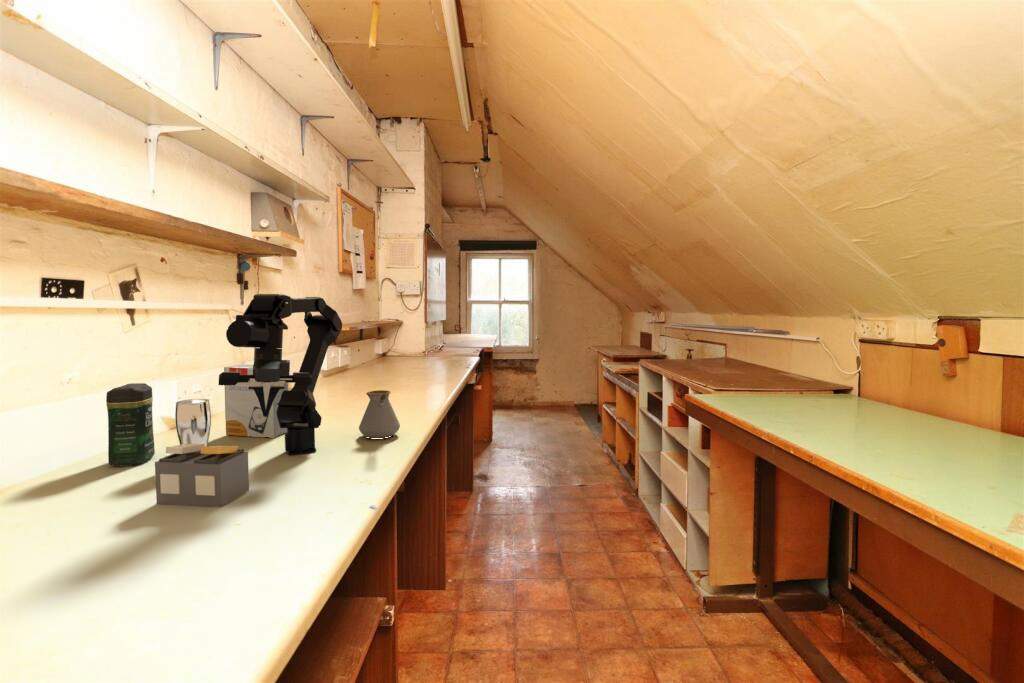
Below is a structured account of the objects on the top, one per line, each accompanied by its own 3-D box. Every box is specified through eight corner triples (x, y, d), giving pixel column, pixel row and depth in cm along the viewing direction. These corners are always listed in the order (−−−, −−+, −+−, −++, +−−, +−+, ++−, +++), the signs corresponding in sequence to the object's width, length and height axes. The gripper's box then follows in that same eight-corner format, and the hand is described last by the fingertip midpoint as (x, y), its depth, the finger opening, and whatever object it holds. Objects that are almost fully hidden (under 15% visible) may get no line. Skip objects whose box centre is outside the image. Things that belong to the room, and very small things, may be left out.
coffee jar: (144, 465, 112) (140, 386, 111) (103, 469, 110) (98, 388, 108) (160, 453, 121) (157, 380, 120) (122, 456, 119) (118, 381, 118)
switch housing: (188, 488, 99) (187, 447, 98) (249, 490, 97) (247, 449, 97) (155, 504, 90) (153, 459, 90) (220, 507, 89) (219, 462, 89)
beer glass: (194, 470, 109) (192, 404, 108) (169, 468, 111) (166, 403, 110) (219, 461, 116) (217, 399, 115) (195, 458, 118) (193, 397, 117)
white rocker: (189, 449, 97) (190, 443, 97) (204, 450, 96) (204, 443, 97) (165, 453, 91) (166, 446, 91) (181, 453, 91) (182, 447, 91)
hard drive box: (224, 436, 139) (222, 366, 137) (243, 429, 146) (241, 363, 145) (273, 438, 136) (271, 368, 135) (290, 431, 144) (288, 365, 142)
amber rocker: (222, 451, 96) (222, 445, 96) (237, 452, 96) (238, 445, 96) (200, 453, 90) (201, 446, 90) (216, 454, 90) (217, 447, 90)
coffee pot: (358, 433, 143) (357, 382, 142) (397, 429, 147) (397, 380, 146) (361, 453, 123) (360, 395, 122) (407, 449, 127) (406, 392, 126)
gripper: (218, 346, 99) (214, 422, 99) (315, 349, 108) (312, 419, 107) (222, 347, 109) (218, 416, 109) (311, 349, 118) (308, 413, 117)
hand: (265, 416), depth 110 cm, fingers closed
